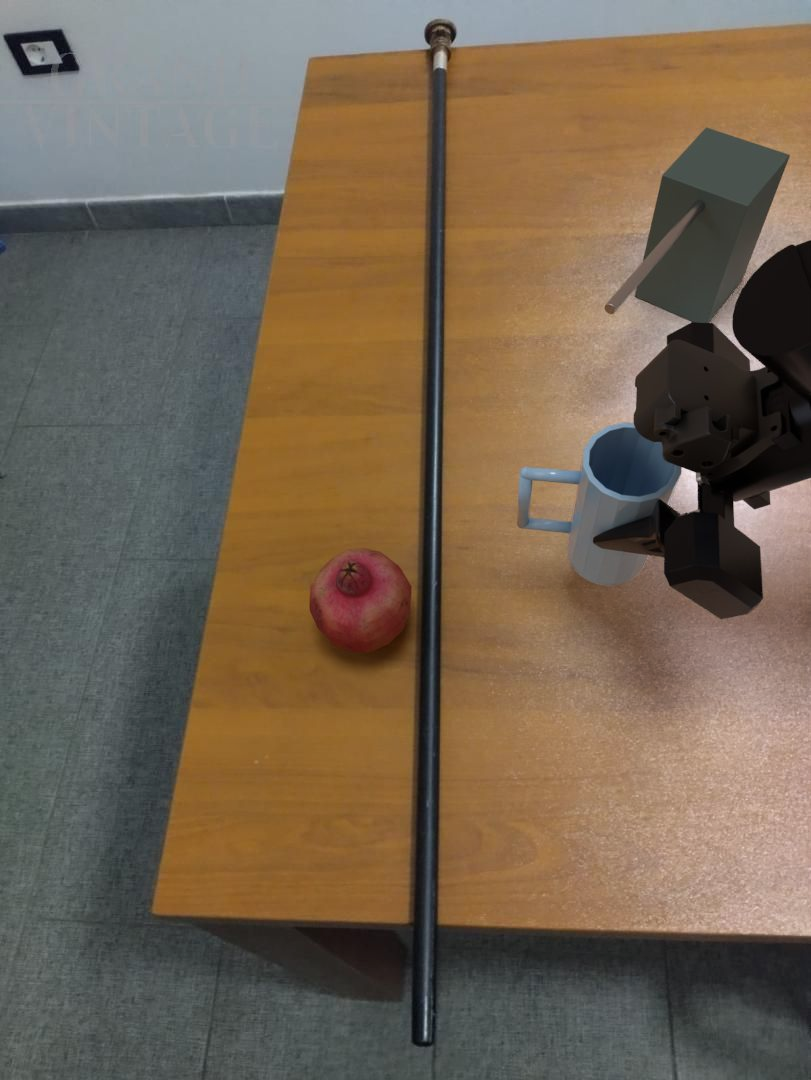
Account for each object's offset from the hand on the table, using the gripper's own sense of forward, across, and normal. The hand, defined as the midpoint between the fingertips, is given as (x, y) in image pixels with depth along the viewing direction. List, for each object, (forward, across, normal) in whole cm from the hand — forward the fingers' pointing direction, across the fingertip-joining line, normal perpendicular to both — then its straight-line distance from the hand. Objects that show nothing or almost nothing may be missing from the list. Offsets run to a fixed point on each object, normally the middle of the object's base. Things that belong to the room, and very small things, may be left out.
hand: (599, 503), depth 52 cm
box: (+5, -29, +13) cm, 32 cm away
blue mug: (+5, 0, +4) cm, 7 cm away
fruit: (+21, +6, -3) cm, 22 cm away
